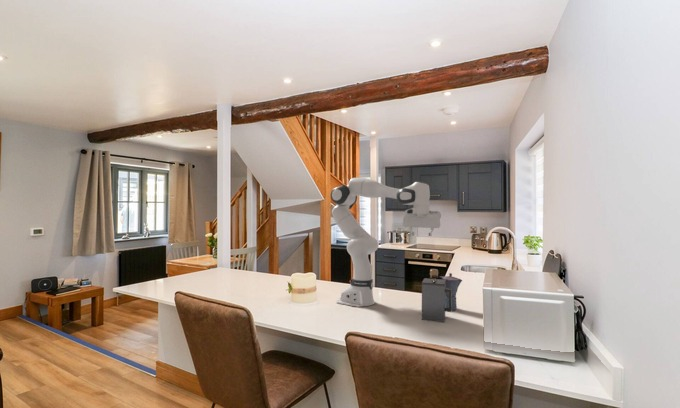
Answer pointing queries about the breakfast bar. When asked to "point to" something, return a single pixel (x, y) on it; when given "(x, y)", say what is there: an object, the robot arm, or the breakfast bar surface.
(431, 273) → the plunger
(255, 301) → the breakfast bar surface
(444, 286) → the tall grey box
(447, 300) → the moka pot
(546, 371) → the breakfast bar surface
